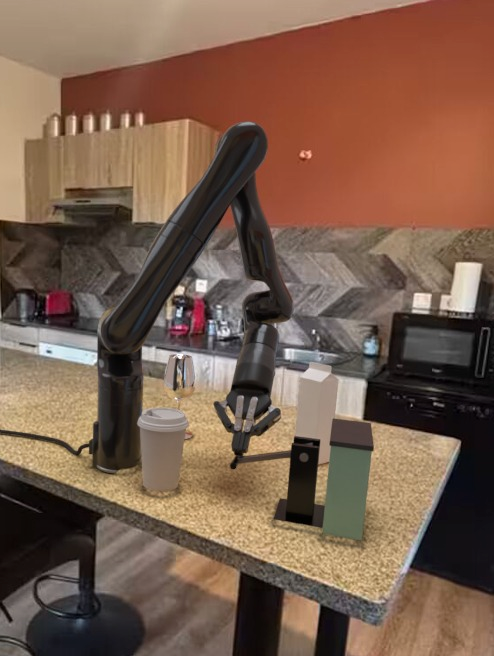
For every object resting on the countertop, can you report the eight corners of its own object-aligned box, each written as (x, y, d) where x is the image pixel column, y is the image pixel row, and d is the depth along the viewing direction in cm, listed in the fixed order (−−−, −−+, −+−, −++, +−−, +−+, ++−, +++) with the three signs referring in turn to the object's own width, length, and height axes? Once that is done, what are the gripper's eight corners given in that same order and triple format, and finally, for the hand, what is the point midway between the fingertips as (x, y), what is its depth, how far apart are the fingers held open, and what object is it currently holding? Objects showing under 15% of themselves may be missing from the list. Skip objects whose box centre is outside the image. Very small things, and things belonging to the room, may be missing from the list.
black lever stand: (272, 525, 92) (278, 446, 89) (279, 504, 100) (285, 431, 98) (322, 534, 90) (330, 453, 87) (324, 511, 98) (331, 437, 96)
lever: (231, 473, 94) (228, 460, 94) (237, 461, 100) (235, 449, 100) (314, 463, 90) (311, 449, 89) (316, 452, 95) (313, 438, 95)
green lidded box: (320, 540, 88) (329, 440, 85) (324, 506, 100) (332, 418, 97) (362, 548, 86) (373, 446, 83) (361, 512, 98) (370, 422, 95)
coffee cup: (134, 479, 108) (137, 405, 106) (183, 480, 109) (186, 406, 107) (135, 500, 99) (137, 420, 96) (188, 500, 100) (192, 421, 97)
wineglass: (196, 433, 140) (200, 355, 136) (187, 442, 132) (191, 360, 129) (167, 428, 142) (170, 352, 139) (156, 437, 135) (159, 356, 131)
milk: (313, 466, 120) (322, 367, 116) (292, 458, 125) (300, 362, 121) (331, 461, 124) (340, 364, 120) (309, 453, 128) (318, 360, 124)
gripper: (218, 357, 105) (198, 438, 95) (289, 364, 101) (275, 449, 91) (223, 379, 111) (204, 458, 101) (290, 386, 107) (277, 468, 97)
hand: (238, 453), depth 96 cm, fingers closed
